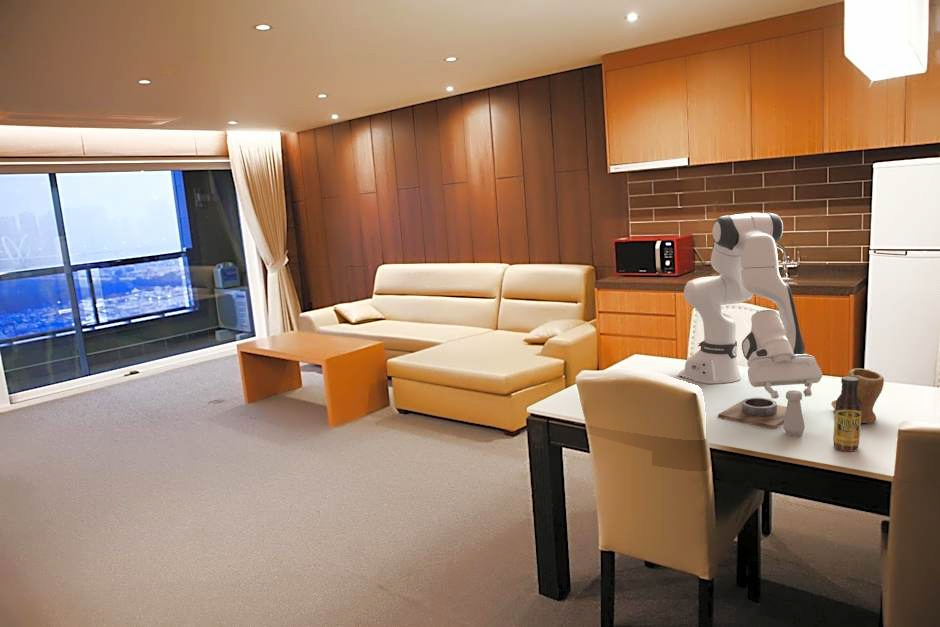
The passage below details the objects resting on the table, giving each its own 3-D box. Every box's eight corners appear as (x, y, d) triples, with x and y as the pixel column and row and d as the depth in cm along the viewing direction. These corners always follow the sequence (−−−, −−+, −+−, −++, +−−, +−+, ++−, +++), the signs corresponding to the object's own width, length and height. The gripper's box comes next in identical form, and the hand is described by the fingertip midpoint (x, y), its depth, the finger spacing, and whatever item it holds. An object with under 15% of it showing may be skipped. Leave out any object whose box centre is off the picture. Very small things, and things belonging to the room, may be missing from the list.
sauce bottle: (834, 451, 183) (835, 381, 179) (831, 443, 189) (832, 374, 185) (862, 453, 181) (864, 381, 177) (858, 444, 186) (859, 375, 183)
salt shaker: (779, 431, 200) (779, 389, 198) (799, 430, 200) (799, 387, 198) (788, 438, 194) (788, 395, 192) (808, 437, 194) (808, 393, 192)
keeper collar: (736, 413, 215) (736, 404, 214) (751, 404, 221) (751, 395, 221) (767, 419, 208) (767, 409, 207) (782, 410, 214) (782, 401, 214)
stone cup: (887, 426, 197) (889, 376, 194) (842, 425, 200) (843, 377, 198) (872, 409, 211) (873, 362, 209) (830, 408, 215) (831, 363, 212)
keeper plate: (718, 417, 216) (718, 414, 215) (745, 402, 227) (745, 399, 227) (774, 428, 202) (774, 425, 202) (800, 412, 214) (800, 409, 214)
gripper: (809, 359, 207) (824, 399, 199) (741, 363, 208) (754, 403, 200) (816, 348, 201) (832, 389, 194) (747, 352, 202) (759, 393, 195)
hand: (792, 396), depth 197 cm, fingers open, 8 cm apart
